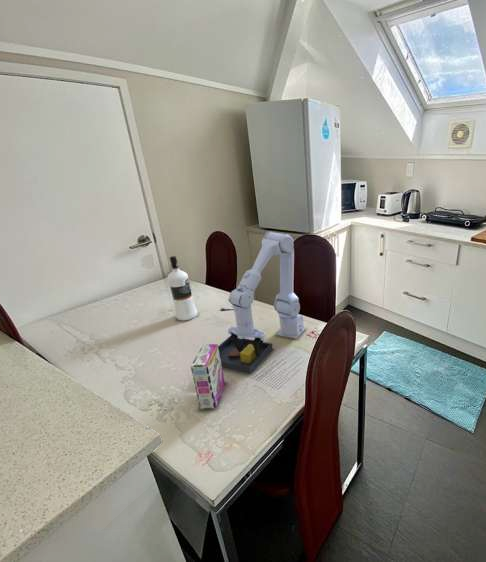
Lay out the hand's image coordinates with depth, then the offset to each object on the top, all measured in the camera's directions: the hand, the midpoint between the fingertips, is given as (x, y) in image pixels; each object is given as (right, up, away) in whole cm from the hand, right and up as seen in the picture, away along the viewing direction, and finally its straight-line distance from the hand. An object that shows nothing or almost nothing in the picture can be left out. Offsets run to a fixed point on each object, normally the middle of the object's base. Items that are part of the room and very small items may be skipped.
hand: (249, 352), depth 116 cm
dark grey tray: (-4, -2, +3) cm, 5 cm away
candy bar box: (-7, -11, -16) cm, 20 cm away
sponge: (0, -2, +1) cm, 3 cm away
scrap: (-6, -2, +3) cm, 7 cm away
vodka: (-39, +10, +32) cm, 51 cm away
